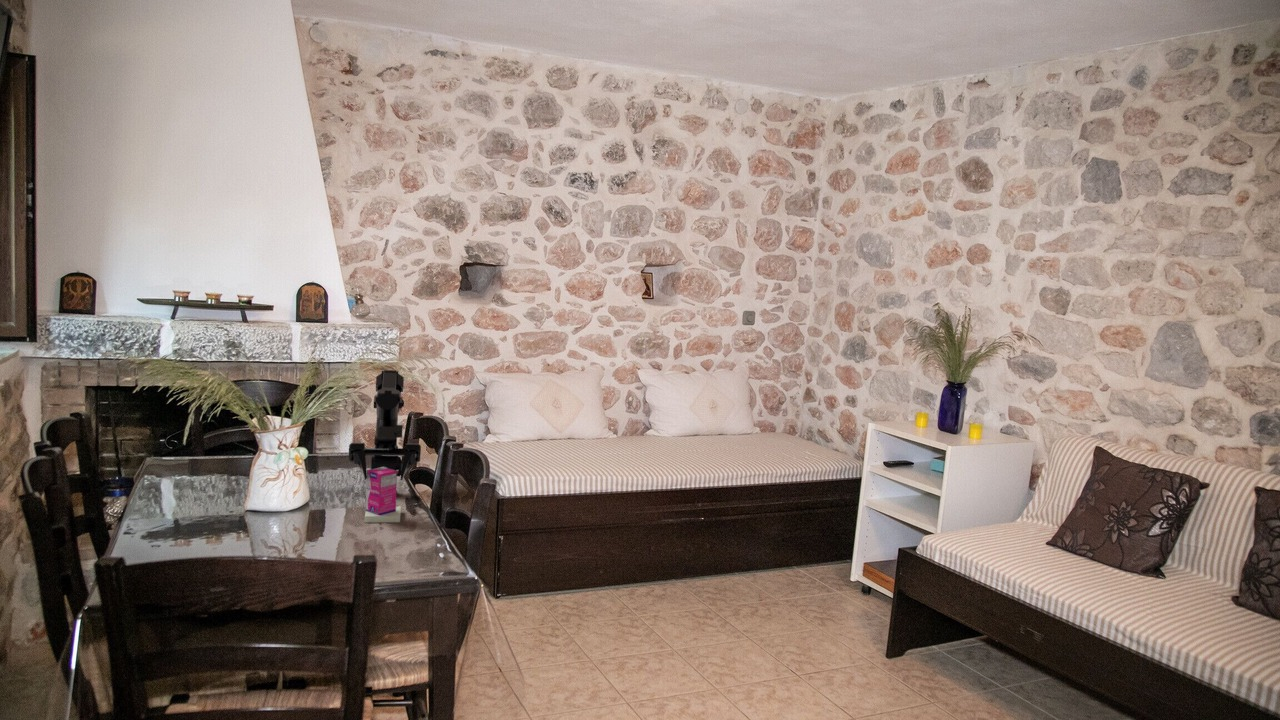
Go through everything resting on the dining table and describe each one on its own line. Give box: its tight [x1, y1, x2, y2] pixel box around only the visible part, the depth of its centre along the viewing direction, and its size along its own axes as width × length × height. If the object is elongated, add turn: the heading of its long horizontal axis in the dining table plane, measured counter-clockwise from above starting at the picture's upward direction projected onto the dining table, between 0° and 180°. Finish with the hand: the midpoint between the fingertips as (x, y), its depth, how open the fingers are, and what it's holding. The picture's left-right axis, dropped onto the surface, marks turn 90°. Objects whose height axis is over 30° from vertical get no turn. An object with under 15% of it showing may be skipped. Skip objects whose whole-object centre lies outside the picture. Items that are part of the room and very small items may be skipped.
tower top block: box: [364, 505, 402, 523], centre depth 224 cm, size 9×9×2 cm
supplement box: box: [365, 467, 398, 515], centre depth 223 cm, size 6×6×12 cm
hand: (383, 479), depth 222 cm, fingers open, 9 cm apart
